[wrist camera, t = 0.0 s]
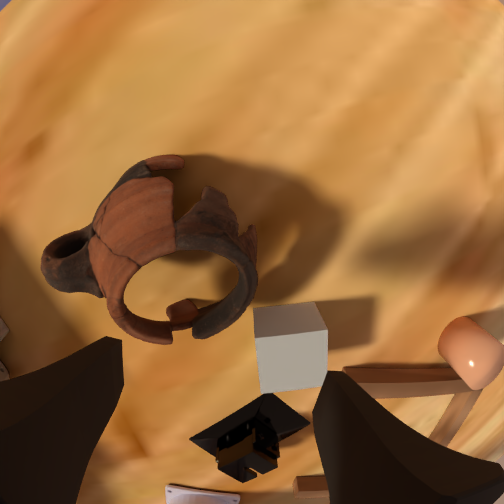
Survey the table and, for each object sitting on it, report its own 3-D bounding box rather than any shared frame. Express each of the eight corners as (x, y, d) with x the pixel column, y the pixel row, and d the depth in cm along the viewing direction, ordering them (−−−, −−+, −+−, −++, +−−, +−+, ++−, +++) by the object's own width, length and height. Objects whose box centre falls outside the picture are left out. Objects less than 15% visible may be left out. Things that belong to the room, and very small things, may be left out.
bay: (412, 472, 26) (417, 484, 24) (292, 483, 26) (294, 498, 24) (478, 366, 22) (489, 376, 21) (343, 367, 22) (350, 382, 20)
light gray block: (314, 351, 21) (326, 385, 18) (258, 358, 21) (261, 393, 18) (313, 301, 20) (328, 329, 17) (253, 307, 20) (254, 338, 17)
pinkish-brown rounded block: (462, 357, 22) (492, 387, 17) (431, 358, 22) (460, 392, 17) (479, 317, 21) (513, 343, 16) (448, 315, 21) (483, 344, 16)
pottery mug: (223, 130, 18) (276, 192, 12) (233, 249, 24) (273, 334, 18) (36, 177, 15) (-7, 263, 9) (84, 286, 22) (81, 380, 16)
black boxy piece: (224, 469, 26) (221, 505, 21) (168, 433, 24) (157, 471, 20) (329, 413, 24) (341, 452, 19) (276, 366, 22) (280, 407, 18)
